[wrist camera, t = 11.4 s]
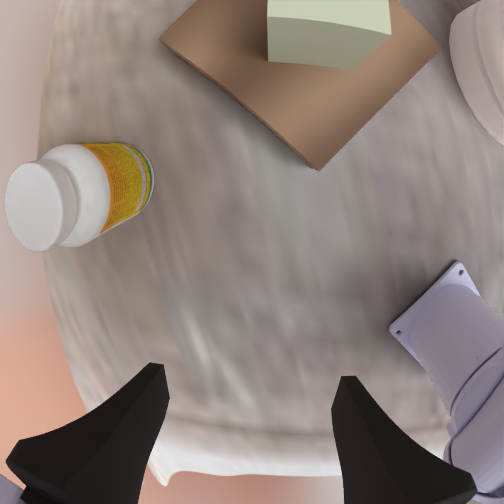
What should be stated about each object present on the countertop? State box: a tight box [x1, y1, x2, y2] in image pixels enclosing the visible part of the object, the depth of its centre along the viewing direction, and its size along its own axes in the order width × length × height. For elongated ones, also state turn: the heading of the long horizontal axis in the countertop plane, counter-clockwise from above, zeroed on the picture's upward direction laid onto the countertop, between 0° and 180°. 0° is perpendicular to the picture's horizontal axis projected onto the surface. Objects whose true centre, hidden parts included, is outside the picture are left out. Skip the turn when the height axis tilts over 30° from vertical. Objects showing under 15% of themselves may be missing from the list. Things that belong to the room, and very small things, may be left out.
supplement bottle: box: [4, 143, 154, 252], centre depth 15 cm, size 5×5×10 cm
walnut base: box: [159, 0, 442, 171], centre depth 14 cm, size 12×12×3 cm
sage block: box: [267, 0, 392, 71], centre depth 10 cm, size 4×4×6 cm
